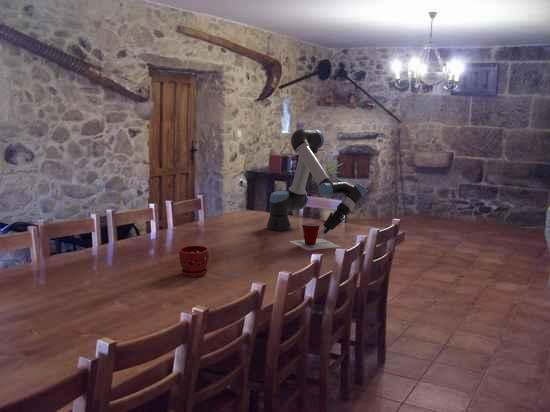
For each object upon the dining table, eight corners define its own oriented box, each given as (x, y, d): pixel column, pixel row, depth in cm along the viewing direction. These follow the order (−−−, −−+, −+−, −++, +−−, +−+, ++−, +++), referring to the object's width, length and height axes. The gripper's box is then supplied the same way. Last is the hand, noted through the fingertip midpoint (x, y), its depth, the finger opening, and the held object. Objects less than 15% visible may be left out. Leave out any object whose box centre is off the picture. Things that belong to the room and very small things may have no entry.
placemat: (288, 241, 329) (288, 240, 329) (321, 238, 339) (321, 238, 339) (307, 250, 310) (307, 249, 310) (341, 246, 319) (341, 246, 319)
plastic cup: (320, 242, 328) (321, 221, 326) (319, 246, 317) (320, 225, 315) (301, 241, 329) (302, 220, 327) (299, 245, 319) (300, 224, 317)
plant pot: (183, 269, 266) (183, 244, 264) (211, 271, 265) (211, 245, 263) (175, 277, 253) (175, 251, 251) (205, 279, 252) (205, 252, 250)
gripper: (355, 212, 325) (329, 243, 320) (343, 208, 336) (317, 238, 332) (348, 204, 322) (321, 235, 317) (335, 200, 333) (309, 230, 329)
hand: (319, 237), depth 325 cm, fingers closed
